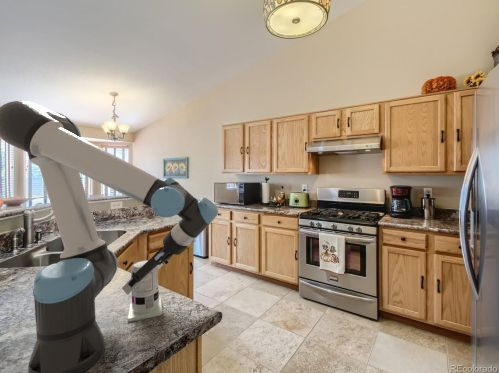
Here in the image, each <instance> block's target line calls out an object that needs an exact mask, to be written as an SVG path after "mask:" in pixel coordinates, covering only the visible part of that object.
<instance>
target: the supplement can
mask: <svg viewBox="0 0 499 373" xmlns="http://www.w3.org/2000/svg"><path fill="white" fill-rule="evenodd" d="M148 260H149V259H145V260H144V259H143V260H139V261H136V262H134V263H133V264H132V266H131V269H130V279H131V278H132V277H131V276H132V275H133V274H132V273H133V272H134V273H136V272H137V271H138V270H139V269H140V268H141V267H142V266H143V265H144V264H145V263H146V262H147V261H148ZM159 291H160V290H159V270H158V266H156V267H155V268H154V269H153V270H152V271H150V272H149V273H148V274H147V275H146V276H145V277H144V278H143V279H142V281H141V282H140V283H139V284H138V285H137V286H136V287H135V288H134V289H133V290H132V291H131V303H132V309H133V311H135V312H136V313H148V312H150V311H153V310H154V309H155V308H156V307H157V306H158V304H159V298H160V297H159V296H160V295H159V294H160V292H159Z"/></svg>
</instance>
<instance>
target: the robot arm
mask: <svg viewBox="0 0 499 373" xmlns="http://www.w3.org/2000/svg"><path fill="white" fill-rule="evenodd" d="M0 138H1V139H2V140H3V141H4V142H5V143H7V144H9V145H11V146H12V147H15V148H18V149H20V150H21V151H24V152H26V153H27V155H28V159H29V162H30V163H32V164H34V165H35V166H37V167H39V172H40V174H41V176H42V181H43V183H44V188H45V191H46V194H47V197H48V200H49V203H50V206H51V209H52V212H53V216H54V218H55V219H54V220H55V223H56V225H57V229H58V233H59V235H60V238H61V241H62V245H63V251H62V252H61V254H60V255H59V259H60V261H58V262H57V263H51V264H49V265H48V266H45V267H44V268H43V269H41V270H40V271H39V272H38V273H37V274H36V275H35V277H34V280H33V289H32V296H33V301H34V303H33V304H34V314H35V331H36V340H35V343H34V347H33V349H32V352H31V355H30V358H29V362H28V366H27V372H28V373H84V372H86V371H87V370H88V369H89V370H90V368H91V367H93V366H94V365H96V363H97V362H98V361H100V359H101V358H102V357H103V355H104V353H105V351H106V344H105V342H106V341H105V337H104V335H103V332H102V330H101V329H100V326H99V325H98V323H97V320H96V302H95V301H96V298H97V297H98V295H99V294H100V293H101V292H102V291H103V290H104V289H105V288H106V287H107V286H108V285H109V284H110V283H111V282H112V280H113V279H114V278H115V275H116V273H117V270H118V263H119V262H118V258H117V256H116V255H115V253H114V252H113V251H112V250H110V249H109V248H108V245H107V242H106V241H105V240H103V239H101V238H100V237H99V235H98V232H97V228H96V225H95V222H94V218H93V214H92V211H91V207H90V204H89V202H88V201H89V200H88V197H87V194H86V191H85V188H84V185H83V181H82V177H81V174H82V175H83V176H86V177H87V178H89V179H92V180H94V182H95V181H96V182H97V183H100V184H101V185H104V186H106V187H107V188H110V189H112V190H114V191H116V192H118V193H120V194H122V195H124V196H126V197H128V198H130V199H132V200H134V201H136V202H138V203H139V204H140V203H141V204H142V205H144V206H146V207H148V208H150V209H152V211H153V213H155V214H156V215H157V216H159V217H161V218H172V217H175V216H176V215H177V216H178V217H179V218H181V219H180V220H179V221H178V222H177V223H176V224H175V225H174V226H173V228H172V229H171V230H170V231H169V232H167V234H166V235H164V237H163V239H162V244H163V247H161V248H159V249H158V251H156V252H155V253H154V254H153V256H151V257H150V259H147V260H148V261H147V262H146V263H145V264H144V265H143V266H142V267H141V268H140V269H139V270H138V271H137V272H136V273H134V272H133V273H132V274H133V275H132V276H131V275H130V279H129V280H128V281H127V282H126V283H125V284H124V285H123V286H122V287H121V289H122V291H123V292H124V293H125V294H126V295H130V294H131V293H132V290H133V289H134V288H135V287H136V286H137V285H138V284H139V283H140V282H141V281H142V279H143V278H144V277H145V276H146V275H147V274H148V273H149V272H150V271H152V270H153V269H154V268H155V267H156V266H158V271H159V270H160V269H162V267H163V266H164V265H167V264H168V263H169V260H170V259H171V258H172V256H174V255H175V256H179V255H182V253H183V252H184V251H185V250H186V249H187V248H188V247H189V245H191V244H192V243H196V239H197V238H198V236H200V234H201V233H203V231H204V230H206V228H208V227H209V226H210V225H211V223H212V222H213V221H214V220H215V219H216V217H217V216H218V215H219V209H218V207H217V206H216V205H215V203H213V201H211V200H210V199H209V198H207V197H201V198H200V199H198V198H196V197H194V196H193V195H192V194H191V192H189V191H188V190H187V189H185V188H184V186H182V185H181V184H180V183H179V182H178V181H176V180H175V179H174V178H173V177H171V176H170V177H169V176H168V177H166V178H165V179H164V180H162V179H160V178H158V177H157V176H155V175H152V174H150V173H149V172H146V171H145V170H143V169H141V168H139V167H137V166H136V165H133V164H131V163H130V162H128V161H125V160H124V159H122V158H119V157H117V156H116V155H114V154H112V153H110V152H108V151H106V150H105V149H102V148H101V147H99V146H97V145H95V144H93V143H91V142H89V141H88V140H85V139H83V138H82V136H81V131H80V129H79V127H78V126H77V125H76V123H75V122H74V121H73V120H71V119H70V118H69V117H67V116H66V115H65V114H63V113H60V112H58V111H57V112H56V111H53V110H50V109H49V108H46V107H44V106H42V105H40V104H37V103H35V102H32V101H27V100H15V101H14V100H13V101H8V102H7V103H4V104H3V105H1V106H0ZM131 277H132V278H131Z"/></svg>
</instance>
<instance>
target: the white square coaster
mask: <svg viewBox="0 0 499 373" xmlns="http://www.w3.org/2000/svg"><path fill="white" fill-rule="evenodd" d="M162 303H163V302H162V297H159V304H158V306H157V307H156V308H155V309H154V310H153V311H150V312H148V313H136V312H135V311H133V309H132V302H130V304H129V309H128V315H127V322H134V321H140V320H145V319H149V318H150V319H151V318H154V317H159V316H162V315H163V307H162V306H163V304H162Z"/></svg>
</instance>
